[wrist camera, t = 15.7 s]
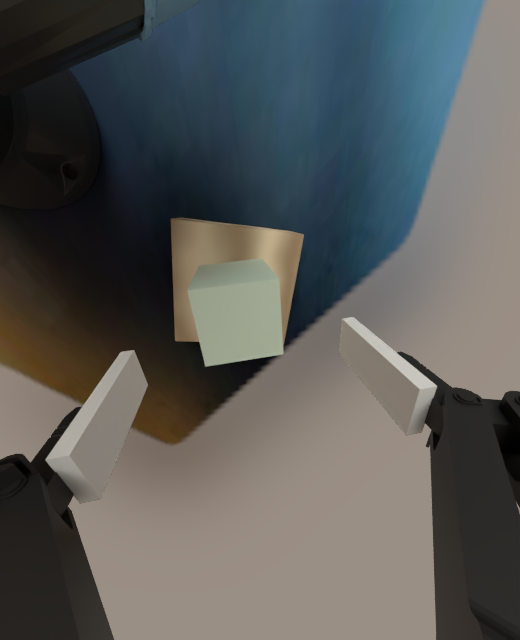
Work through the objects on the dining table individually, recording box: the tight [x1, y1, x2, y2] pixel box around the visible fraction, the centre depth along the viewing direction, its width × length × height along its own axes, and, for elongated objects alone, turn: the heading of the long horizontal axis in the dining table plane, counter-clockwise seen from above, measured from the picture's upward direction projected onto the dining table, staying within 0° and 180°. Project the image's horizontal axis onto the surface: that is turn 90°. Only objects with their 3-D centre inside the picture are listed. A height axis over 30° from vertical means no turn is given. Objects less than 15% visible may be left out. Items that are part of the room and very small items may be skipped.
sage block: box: [187, 258, 283, 367], centre depth 23 cm, size 7×7×9 cm
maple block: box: [171, 218, 304, 344], centre depth 30 cm, size 14×14×6 cm
